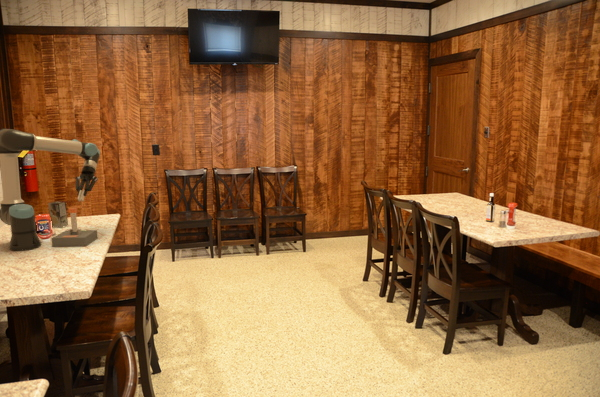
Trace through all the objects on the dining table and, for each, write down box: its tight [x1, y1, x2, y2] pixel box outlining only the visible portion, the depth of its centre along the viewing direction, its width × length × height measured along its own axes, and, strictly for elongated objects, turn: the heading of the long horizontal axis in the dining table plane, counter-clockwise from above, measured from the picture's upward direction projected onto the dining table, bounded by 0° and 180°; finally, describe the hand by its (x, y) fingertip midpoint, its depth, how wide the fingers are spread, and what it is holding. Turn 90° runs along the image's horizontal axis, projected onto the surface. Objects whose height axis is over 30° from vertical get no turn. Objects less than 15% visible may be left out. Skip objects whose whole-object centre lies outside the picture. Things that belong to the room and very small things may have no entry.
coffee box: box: [48, 201, 69, 228], centre depth 312 cm, size 9×6×16 cm
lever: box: [68, 207, 79, 233], centre depth 270 cm, size 4×3×14 cm
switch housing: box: [51, 228, 99, 248], centre depth 271 cm, size 18×18×8 cm
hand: (80, 200), depth 279 cm, fingers closed
